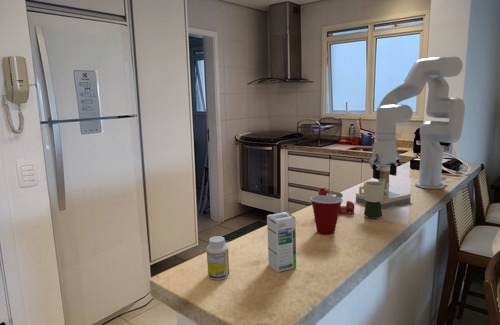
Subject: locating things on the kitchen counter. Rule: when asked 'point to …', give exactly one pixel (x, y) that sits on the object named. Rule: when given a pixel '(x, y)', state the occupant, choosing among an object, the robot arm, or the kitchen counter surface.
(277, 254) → the syrup box
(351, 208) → the toy fire truck
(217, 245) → the supplement bottle
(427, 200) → the kitchen counter surface
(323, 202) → the plastic cup
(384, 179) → the sprinkles bottle
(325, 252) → the kitchen counter surface
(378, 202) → the character mug
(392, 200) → the tray
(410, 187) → the kitchen counter surface
